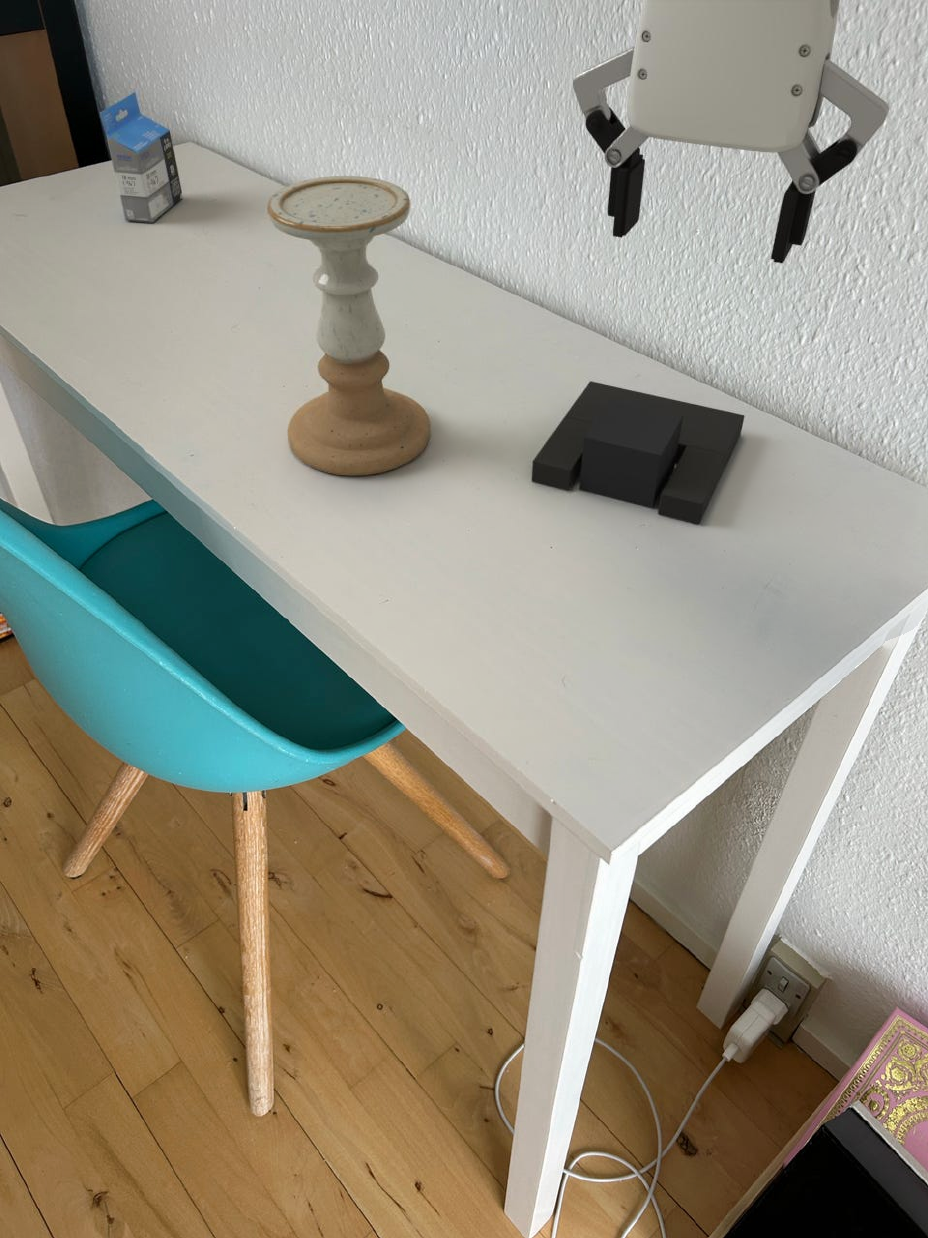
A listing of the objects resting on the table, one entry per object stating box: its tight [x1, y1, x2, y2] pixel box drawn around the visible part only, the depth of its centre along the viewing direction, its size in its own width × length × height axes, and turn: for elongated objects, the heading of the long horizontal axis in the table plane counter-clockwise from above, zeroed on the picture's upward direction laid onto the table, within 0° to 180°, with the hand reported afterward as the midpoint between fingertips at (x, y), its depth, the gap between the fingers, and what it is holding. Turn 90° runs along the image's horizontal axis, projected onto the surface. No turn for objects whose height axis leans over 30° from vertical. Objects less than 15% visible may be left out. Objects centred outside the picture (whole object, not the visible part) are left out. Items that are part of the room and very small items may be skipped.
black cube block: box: [578, 399, 683, 509], centre depth 78 cm, size 6×6×5 cm
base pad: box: [531, 380, 745, 525], centre depth 82 cm, size 14×14×2 cm
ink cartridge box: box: [99, 91, 184, 224], centre depth 119 cm, size 9×4×12 cm, turn 167°
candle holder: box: [266, 175, 431, 476], centre depth 78 cm, size 12×12×20 cm
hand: (701, 241), depth 59 cm, fingers open, 9 cm apart
